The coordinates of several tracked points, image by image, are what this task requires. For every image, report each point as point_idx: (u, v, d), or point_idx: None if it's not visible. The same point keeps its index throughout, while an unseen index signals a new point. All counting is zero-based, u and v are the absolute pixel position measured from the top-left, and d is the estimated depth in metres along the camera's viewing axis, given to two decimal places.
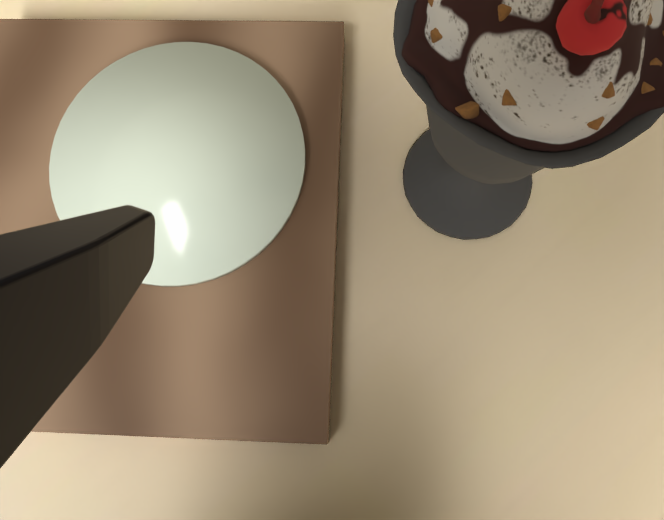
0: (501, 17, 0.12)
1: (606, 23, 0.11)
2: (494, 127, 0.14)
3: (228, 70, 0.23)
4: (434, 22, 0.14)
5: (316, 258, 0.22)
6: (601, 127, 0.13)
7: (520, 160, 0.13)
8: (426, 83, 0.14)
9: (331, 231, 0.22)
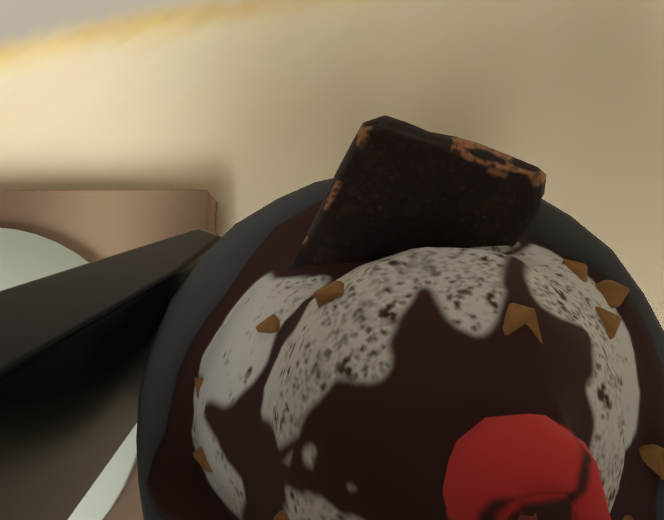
0: None
1: None
2: None
3: (42, 269, 0.17)
4: (200, 436, 0.07)
5: None
6: None
7: None
8: None
9: None
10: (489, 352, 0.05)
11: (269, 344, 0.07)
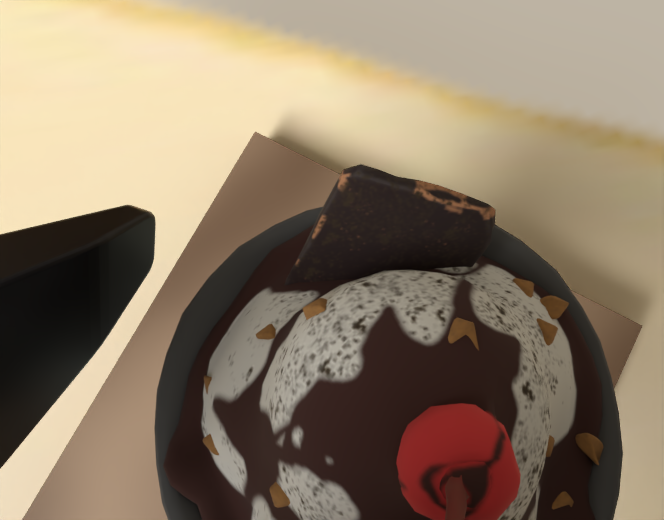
0: (280, 498, 0.07)
1: None
2: None
3: None
4: (208, 425, 0.09)
5: None
6: None
7: None
8: (200, 518, 0.09)
9: None
10: (436, 356, 0.06)
11: (267, 349, 0.08)
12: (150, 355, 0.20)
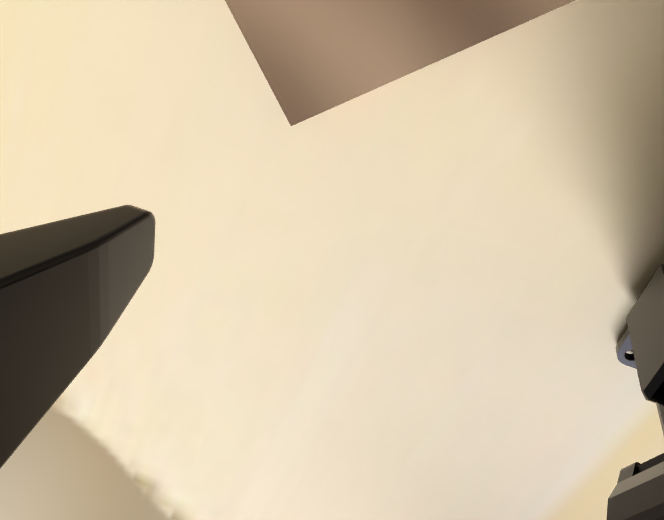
0: None
1: None
2: None
3: None
4: None
5: None
6: None
7: None
8: None
9: None
10: None
11: None
12: None
